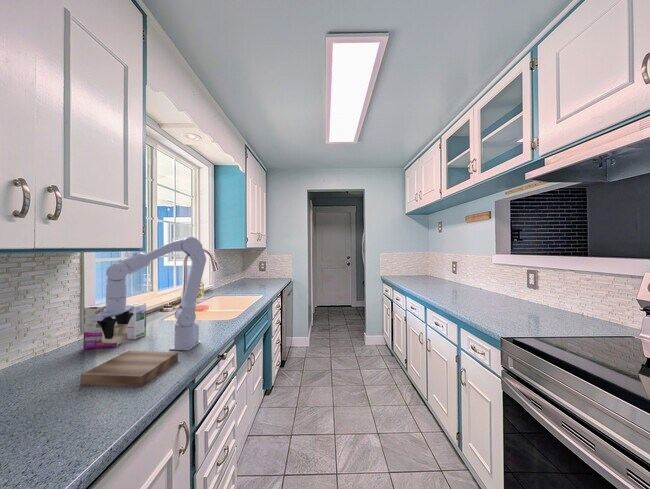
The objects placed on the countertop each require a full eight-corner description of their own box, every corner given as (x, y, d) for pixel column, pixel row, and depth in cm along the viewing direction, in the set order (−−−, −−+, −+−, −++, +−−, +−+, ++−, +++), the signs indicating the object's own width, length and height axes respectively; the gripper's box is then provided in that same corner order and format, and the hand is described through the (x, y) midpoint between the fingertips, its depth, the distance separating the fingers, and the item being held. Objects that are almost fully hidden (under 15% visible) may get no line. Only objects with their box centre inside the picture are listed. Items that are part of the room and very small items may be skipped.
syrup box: (135, 339, 116) (135, 305, 116) (123, 338, 117) (124, 304, 117) (146, 335, 122) (147, 303, 122) (135, 334, 123) (136, 302, 123)
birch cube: (114, 337, 98) (114, 323, 98) (127, 338, 98) (127, 324, 98) (102, 342, 93) (102, 328, 93) (116, 343, 93) (116, 328, 93)
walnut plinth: (128, 359, 96) (128, 350, 96) (177, 360, 95) (178, 352, 95) (80, 384, 78) (80, 374, 78) (141, 387, 77) (141, 376, 77)
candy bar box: (122, 343, 111) (123, 303, 112) (116, 347, 107) (117, 306, 107) (89, 345, 109) (90, 304, 109) (82, 350, 104) (83, 307, 104)
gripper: (121, 293, 103) (120, 329, 103) (86, 301, 89) (85, 342, 88) (139, 294, 103) (138, 329, 103) (107, 301, 88) (106, 343, 88)
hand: (115, 335), depth 95 cm, fingers closed on birch cube, 5 cm apart
